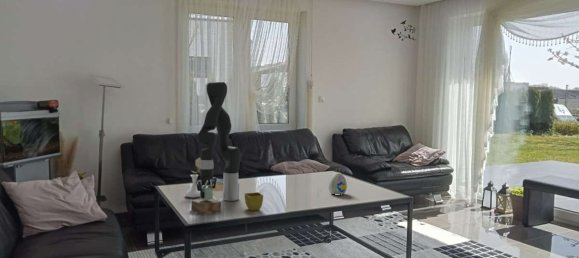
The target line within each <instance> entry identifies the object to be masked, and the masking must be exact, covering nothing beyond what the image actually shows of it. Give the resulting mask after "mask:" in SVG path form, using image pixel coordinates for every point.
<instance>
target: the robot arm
mask: <svg viewBox="0 0 579 258" xmlns="http://www.w3.org/2000/svg"><path fill="white" fill-rule="evenodd" d="M227 93H228V85H227V83H226V82H225V81H211V82H207V85H206V94H207V97H208V100H209V102H210V106H211V107H210V108H209V109H208V110H207V112H206V114H205V117H204V121H203V125H202V126H201V129H200V130H199V131H198V134H197V138H196V140H197V143H199V144H200V145H206V146H207V145H208V147H207V148H202V149H201V150H200V157H199V158H200V159H201V160H200V173H199V176H200V177H199V180H196V186H197V190H198V191H200V197H201V198H204V191H205V188H206V187H209V188H213V190H214V189H216V185H217V181H218V180H217V177H214V168H215V167H214V165H215V164H214V151H215V146H216V143H217V139H218V143H219V150H220V156H221V159H222V160H224V161H225V162H229V165H228V166H225V167H224V168H223V184H222V185H223V187H222V188H223V191H222V200H224V201H227V202H234V201H237V200H239V199H240V183H239V170H240V164H241V150H240V148H239V147H238V146H230V144H229V137H230V133H231V131H232V121H231V117H230V114H229V113H228V112H227V111H226V110H225V108H224V107H223V105H224V102H225V100H226V97H227ZM215 129H216V132H217V135H216V132H213V131H214V130H215ZM211 131H212V132H211ZM202 189H203V190H202ZM200 197H199V198H200Z"/></svg>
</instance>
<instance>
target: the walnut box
mask: <svg viewBox="0 0 579 258" xmlns="http://www.w3.org/2000/svg"><path fill="white" fill-rule="evenodd" d="M190 206H191V211H192V212H195V213H196V212H197V214H199V215H201V216H205V215H204V214H206V215H210V214H209V213H211V214H215V213H216V212H217V213H220V212H222V201H220V200H218V199H215V198H213V199H210V200H202V199H200V198H197V199H192V200H191V205H190Z"/></svg>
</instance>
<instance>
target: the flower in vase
mask: <svg viewBox="0 0 579 258" xmlns="http://www.w3.org/2000/svg"><path fill="white" fill-rule="evenodd" d="M200 158H201V157H198V158H197V159H195V162H194V164H195V167H196V168H197V171H194V170H190V171H191V173H194V174H190V177H191V179H192V186H191V187H190V189H188V190H187V191H186V192H185V193H184V194H185V196H186V197H188V198H200V191H198V190H197V185H196V181H198V177H199V176H200V160H201V159H200ZM197 173H199V174H197Z"/></svg>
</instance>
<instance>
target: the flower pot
mask: <svg viewBox="0 0 579 258" xmlns="http://www.w3.org/2000/svg"><path fill="white" fill-rule="evenodd" d="M244 201H245V205H246V207H247V209H248V210H249V211H252V212H253V211H260V209H261V208H262V206H263V202H264V195H263V194H261V192H258V191H257V192H247V193H244Z"/></svg>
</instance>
